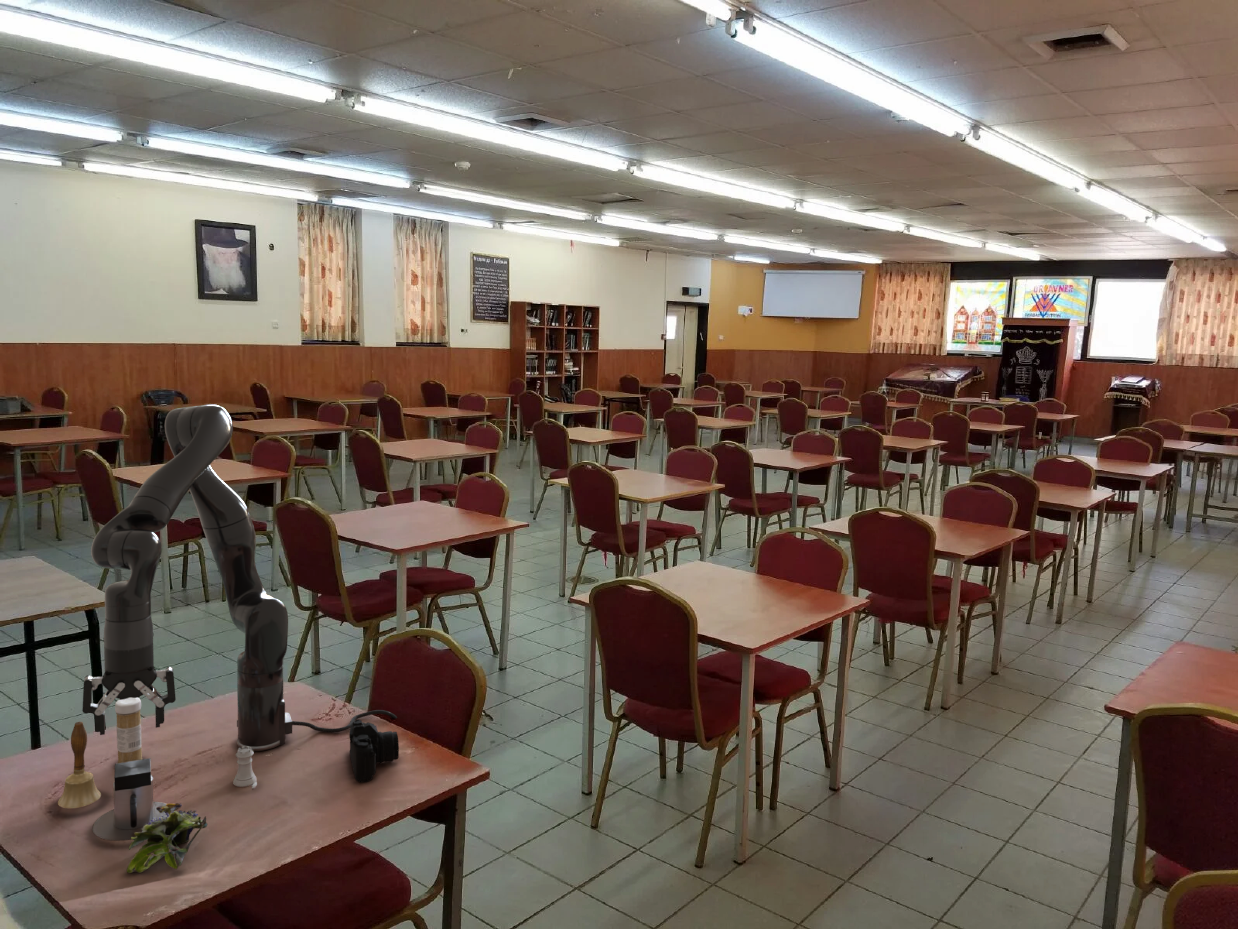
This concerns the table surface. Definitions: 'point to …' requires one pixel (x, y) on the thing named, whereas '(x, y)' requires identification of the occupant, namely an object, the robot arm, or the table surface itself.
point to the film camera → (370, 749)
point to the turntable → (109, 831)
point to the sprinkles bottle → (128, 729)
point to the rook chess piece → (245, 769)
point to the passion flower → (165, 838)
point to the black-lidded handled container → (133, 794)
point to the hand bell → (79, 775)
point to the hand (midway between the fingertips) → (130, 729)
